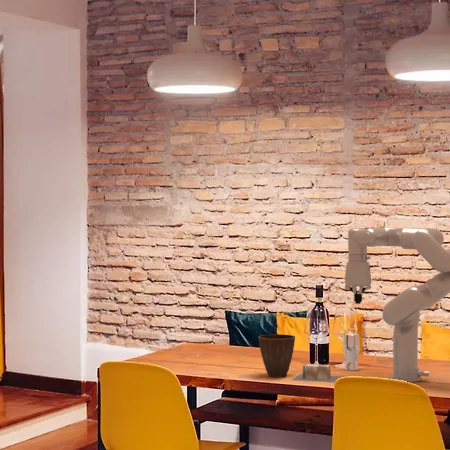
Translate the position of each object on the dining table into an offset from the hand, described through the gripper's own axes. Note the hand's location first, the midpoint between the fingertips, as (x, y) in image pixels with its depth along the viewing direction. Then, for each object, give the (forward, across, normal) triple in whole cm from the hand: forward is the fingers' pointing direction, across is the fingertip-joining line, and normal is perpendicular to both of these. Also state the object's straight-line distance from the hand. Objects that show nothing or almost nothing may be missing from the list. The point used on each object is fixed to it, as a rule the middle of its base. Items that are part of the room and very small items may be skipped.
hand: (358, 303), depth 402 cm
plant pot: (+29, +31, +12) cm, 44 cm away
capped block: (+26, +9, +17) cm, 32 cm away
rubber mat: (+29, +11, +17) cm, 35 cm away
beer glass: (+29, +5, -10) cm, 31 cm away
